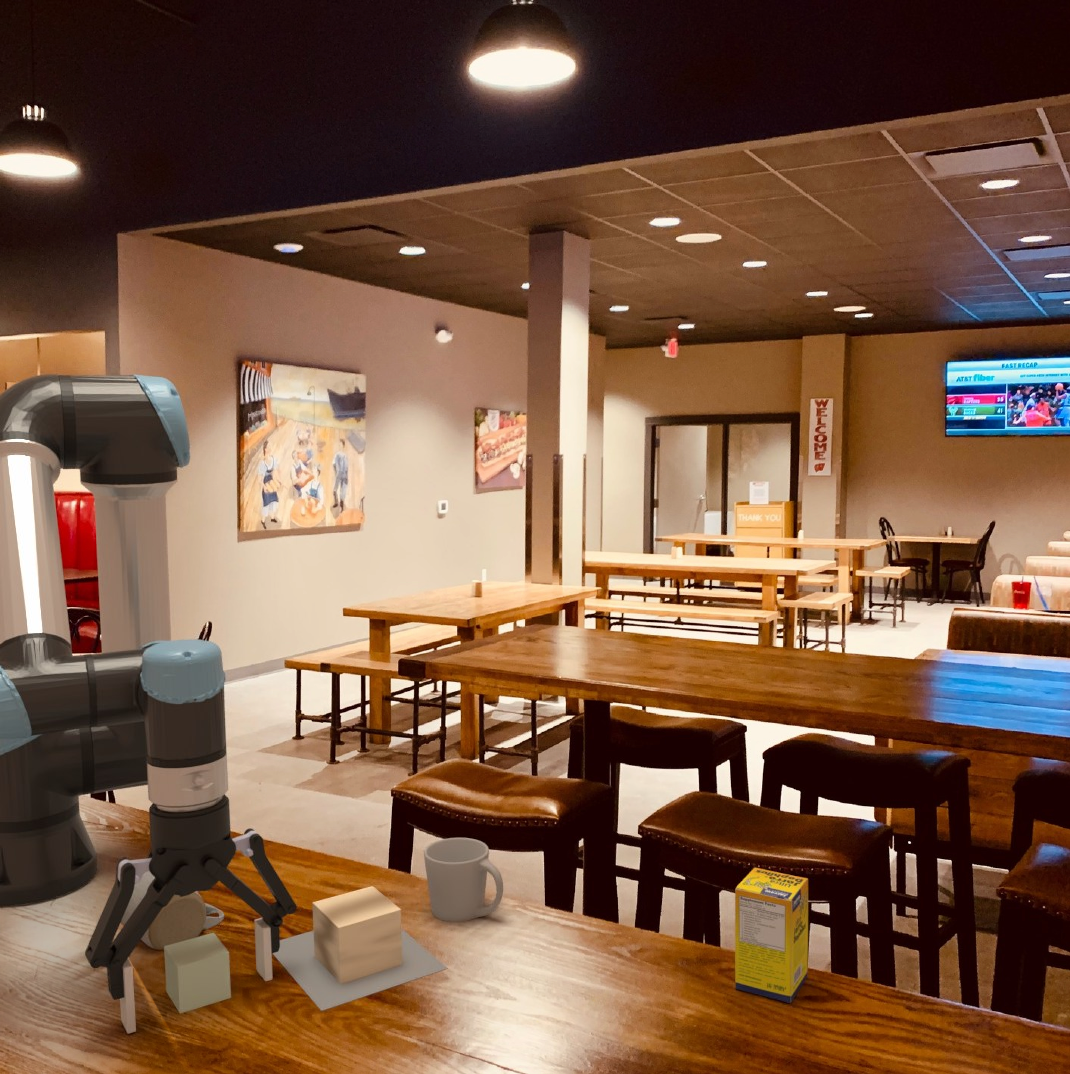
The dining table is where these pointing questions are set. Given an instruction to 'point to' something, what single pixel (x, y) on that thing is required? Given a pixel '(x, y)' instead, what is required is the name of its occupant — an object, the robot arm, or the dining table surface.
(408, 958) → the board
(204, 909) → the ceramic mug
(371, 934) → the base block
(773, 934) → the supplement box
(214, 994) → the sage block
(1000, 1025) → the dining table surface
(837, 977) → the dining table surface
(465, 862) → the cup
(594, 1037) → the dining table surface
